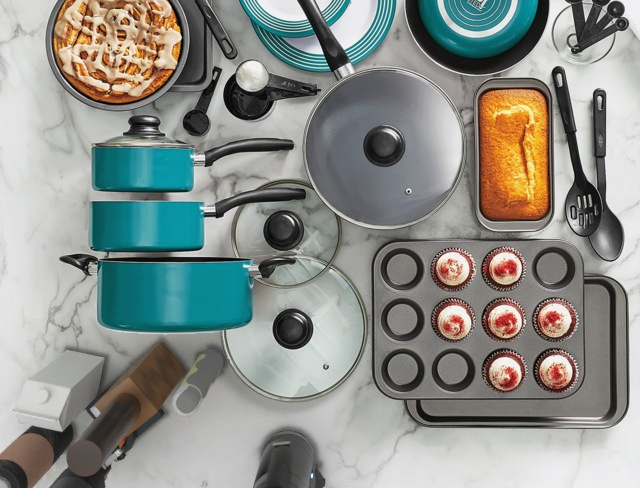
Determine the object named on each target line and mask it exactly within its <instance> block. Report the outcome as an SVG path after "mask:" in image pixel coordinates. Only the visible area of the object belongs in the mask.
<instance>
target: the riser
mask: <svg viewBox="0 0 640 488" xmlns="http://www.w3.org/2000/svg"><path fill="white" fill-rule="evenodd" d="M186 372H187V370H186V368H184V366H183V364H182V363H180V361H179V360H178V359H177V357H175V355H174V354H173V352H171V350H170V349H169V348H168V346H167V345H166V344H165V343H164V342H163V341H160V342H158V343H157V344H156V345H155V346H154V347H152V348H151V349H150V350H149V351H147V352H146V353H145V354H144V355H143V356H141V357H140V358H138V360H137V361H135V362H134V363H133V364H132V365H131V366H130V367H128V369H127V370H126V371H125V372H124V373H123V374H122V375H121V376H120V378H118V379H117V380H116V381H117V382H116V381H115V382H116V383H115V382H114V383H115V384H114V383H113V384H114V385H113V384H112V385H113V386H112V385H111V386H112V387H111V388H110V389H109V390H108V391H107V392H106V393H105V394H104V395H103V396H102V397H101V398H100V399H99V400H98V401H97V403H96V404H95V405H94V406H95V407H96V408H97V409H98V410H99V412H100V413H101V412H102V411H103V410H104V409H105V408H106V407H107V405H108V404H109V403H110V402H111V401H112V400H113V399H114V398H115V397H116V396H117V395H119V394H123V393H128V394H131V395H133V396H135V397H136V398H137V399H138V400H139V402H140V405H141V413H140V416H139V417H138V419H137V420H136V421H135V423H134V424H133V425H132V427H131V428H130V429H129V431H128V432H127V433H126V435H125V436H124V437H123V439H122V440H124V439H125V438H126V437H127V436H129V435H130V434H131V433H132V432H133V431H135V430H136V429H137V428H138V427H140V426H141V425H142V424H143V423H144V422H146V421H147V420H148V419H149V418H151V417H152V416H153V415H154V414H156V413H157V412H158V410H159V409H160V408H161V407H162V406H163V405H164V403H165V402H166V401H167V399H168V398H169V396H170V395H171V393H172V392H173V390H174V389H175V388H176V386H177V385H178V384H179V383H180V381H181V379H182V378H183V377H184V375H185V374H186ZM161 409H162V408H161Z"/></svg>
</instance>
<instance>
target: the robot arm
mask: <svg viewBox="0 0 640 488" xmlns="http://www.w3.org/2000/svg"><path fill="white" fill-rule="evenodd" d="M126 456H127V453H125V452H124V451H123V450H122V449H121V447H120V446H119V445H117V447H116V448H115V449H114V451H113V452H112V453H111V454H110V456H109V457H108V458H107V460H106V461H105V462H104V464H103V465H102V466H101V468H100V469H99V470H98V471H97V472H96V473H95V474H93V475H91V476H86V477H83V476H79V475H76V474H75V473H73V472H72V471H71V470H70V469H69V467H68V466H67V467H66V468H65V469H64V470H62V472H61V473H60V474H59V475H58V476H57V478H55V480H54V481H53V483H51V485H50V486H49V487H48V488H106V480H107V479H108V475H109V473H110V472H111V470H112V463H114V462H115V463H119V462H120V461H122V460H124V459H126ZM258 464H259V465H258V468H257V472H256V475H255V478H254V482H253V486H252V488H325V487H326V478H325V477H324V476H323V474H322V473H321V472H320V471H319V470H318V463H317V462H316V461H315V450H314V447H313V445H312V443H311V442H310V440H309V439H308V438H307V437H306V436H305V435H303V434H302V433H299V432H297V431H294V430H281V431H278V432H276V433H274V434H273V435H272V436H270V437H269V438H268V439H267V441H266V442H265V444H264V446H263V449H262V452H261V457H260V461H259V463H258Z"/></svg>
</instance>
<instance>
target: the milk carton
mask: <svg viewBox="0 0 640 488" xmlns="http://www.w3.org/2000/svg"><path fill="white" fill-rule="evenodd" d="M105 359H106V358H105V357H104V356H98V355H94V354H91V353H90V354H89V353H85V352H81V351H80V352H78V351H75V350H70V349H66V350H64V352H62V353H61V354H59V355H58V356H57V357H56V358H54V359H52V361H50V362H49V363H47V365H45V366H44V367H42V368H41V369H40V370H39V371H38V372H36V373H34V374H33V375H31V377H29V378H28V379H27V380H26V382H25V384H24V386H23V388H22V390H21V392H20V395H19V397H18V399H17V401H16V403H15V405H14V406H13V408H12V409H11V410H10V413H12V414H15V416H16V419H17V422H18V423H20V424H24V425H29V426H37V427H42V428H46V429H51V430H56V431H61V432H63V431H64V429H65V428H66V427H67V426H68V425H69V424H71V423H73V421H75V419H76V418H78V416H79V415H81V413H82V412H83V411H84V410H86V409H85V408H86V407H87V406H88V405H89V404H90V403H91V402H92V401H93V400H94V399H96V398H97V397H98V396H99V395H98V394H99V389H100V385H101V380H102V374H103V369H104V364H105Z"/></svg>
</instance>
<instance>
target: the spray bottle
mask: <svg viewBox="0 0 640 488" xmlns="http://www.w3.org/2000/svg"><path fill="white" fill-rule="evenodd" d="M224 364H225V361H224V358H223V355H222V354H221V353H220V352H219V351H218V350H216V349H212V348H208V349H204V350H203V351H202V352H200V353H199V354H198V356H197V357H196V358H195V361H194V363H193V365H192V367H191V368H190V369H189V370H188V372H187V373H186V376H185V377H184V379H183V381H182V382H181V383H180V384H179V386H178V387H177V390H176V392H175V393H174V394H173V397H172V399H171V408H172V411H173V413H174V414H175V415H176V416H178V417H181V418H189V417H191V416H193V415H194V414H195V413H196V412H197V410H198V409H199V407H200V406H201V403H202V402H203V400H204V399H205V398H206V396H207V394H208V393H209V390H210V389H211V387H212V386H213V384H215V382H216V380H217V378H218V376H219V375H220V374H221V372H222V371H223V368H224Z"/></svg>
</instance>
